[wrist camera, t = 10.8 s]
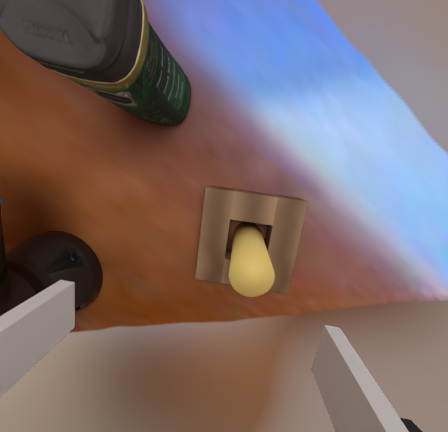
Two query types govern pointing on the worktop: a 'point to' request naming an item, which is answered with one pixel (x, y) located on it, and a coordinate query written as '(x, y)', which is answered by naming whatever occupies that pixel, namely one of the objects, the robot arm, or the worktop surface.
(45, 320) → the robot arm
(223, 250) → the socket block
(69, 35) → the coffee jar
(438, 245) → the worktop surface
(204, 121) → the worktop surface
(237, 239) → the peg
